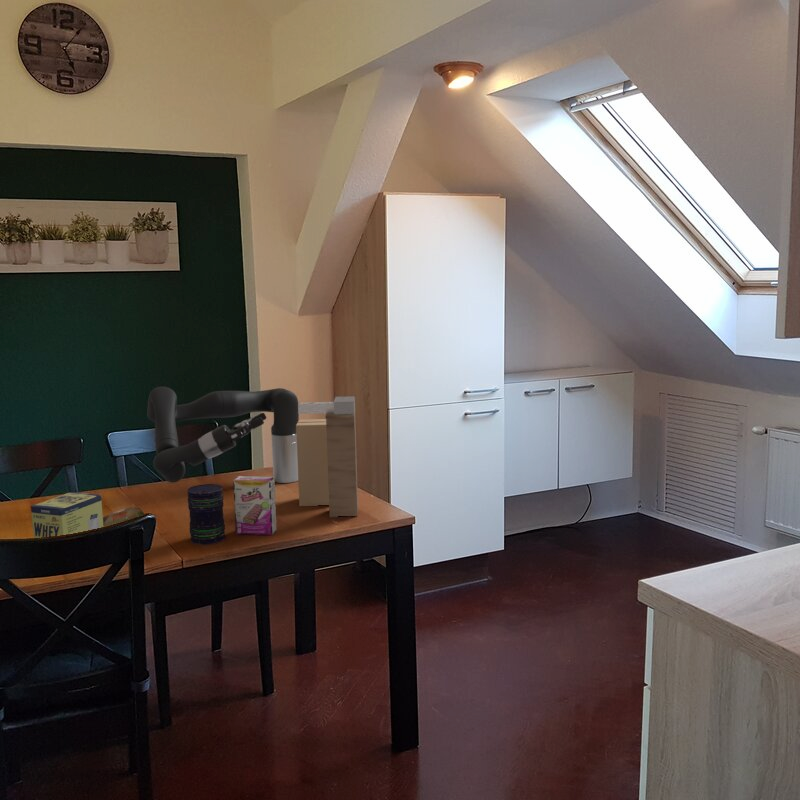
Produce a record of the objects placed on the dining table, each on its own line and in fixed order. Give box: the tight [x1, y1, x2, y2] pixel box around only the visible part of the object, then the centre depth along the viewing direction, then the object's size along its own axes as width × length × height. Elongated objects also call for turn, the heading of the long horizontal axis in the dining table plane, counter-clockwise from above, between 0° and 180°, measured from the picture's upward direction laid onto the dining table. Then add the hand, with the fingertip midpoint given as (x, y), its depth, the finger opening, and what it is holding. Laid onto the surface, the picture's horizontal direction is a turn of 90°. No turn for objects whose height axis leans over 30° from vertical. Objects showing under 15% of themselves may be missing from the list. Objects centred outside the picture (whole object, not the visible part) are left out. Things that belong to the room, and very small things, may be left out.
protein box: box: [30, 491, 104, 539], centre depth 226 cm, size 10×16×16 cm
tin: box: [103, 506, 145, 526], centre depth 240 cm, size 15×3×8 cm, turn 148°
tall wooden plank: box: [325, 412, 359, 518], centre depth 258 cm, size 12×8×32 cm
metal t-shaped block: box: [298, 395, 356, 415], centre depth 255 cm, size 10×17×4 cm, turn 91°
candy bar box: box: [233, 475, 277, 536], centre depth 242 cm, size 11×5×16 cm, turn 84°
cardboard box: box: [296, 418, 329, 507], centre depth 272 cm, size 10×12×27 cm
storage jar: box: [186, 483, 226, 546], centre depth 237 cm, size 10×10×15 cm
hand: (263, 417), depth 255 cm, fingers open, 8 cm apart
